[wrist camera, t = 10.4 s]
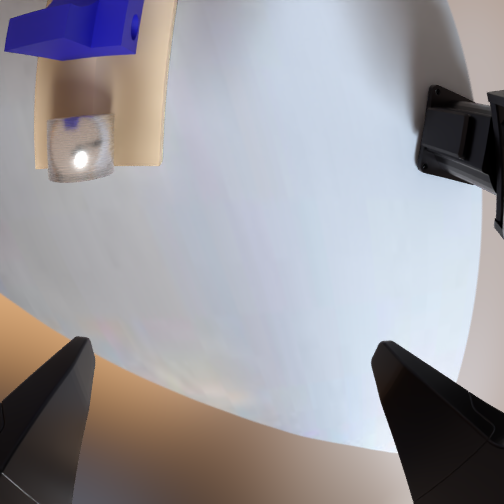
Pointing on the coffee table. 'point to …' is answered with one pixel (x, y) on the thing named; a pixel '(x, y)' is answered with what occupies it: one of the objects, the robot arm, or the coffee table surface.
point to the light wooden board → (113, 90)
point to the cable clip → (77, 29)
